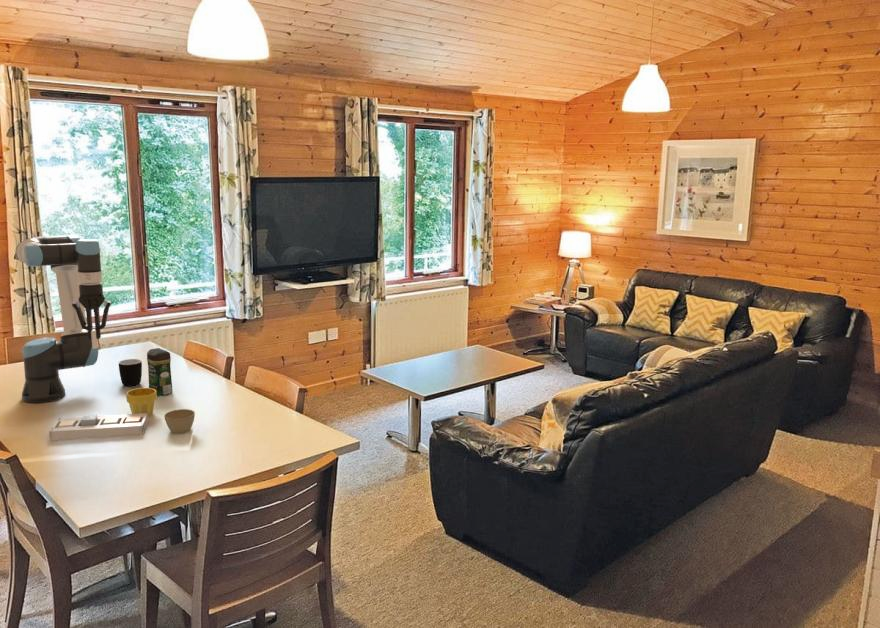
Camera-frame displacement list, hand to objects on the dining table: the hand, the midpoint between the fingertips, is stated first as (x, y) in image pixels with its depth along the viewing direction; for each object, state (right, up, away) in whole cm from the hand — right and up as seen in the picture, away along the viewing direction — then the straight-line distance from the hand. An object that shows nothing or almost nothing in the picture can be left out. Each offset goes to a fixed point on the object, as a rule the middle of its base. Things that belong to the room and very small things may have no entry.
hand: (95, 347), depth 257 cm
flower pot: (+34, -30, -9) cm, 46 cm away
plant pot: (+15, -26, +6) cm, 31 cm away
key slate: (+4, -26, -13) cm, 29 cm away
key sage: (+11, -27, -10) cm, 31 cm away
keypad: (+7, -29, -11) cm, 32 cm away
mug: (-7, -18, +45) cm, 49 cm away
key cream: (-3, -28, -14) cm, 31 cm away
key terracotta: (+17, -27, -9) cm, 33 cm away
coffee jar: (+11, -21, +33) cm, 41 cm away
